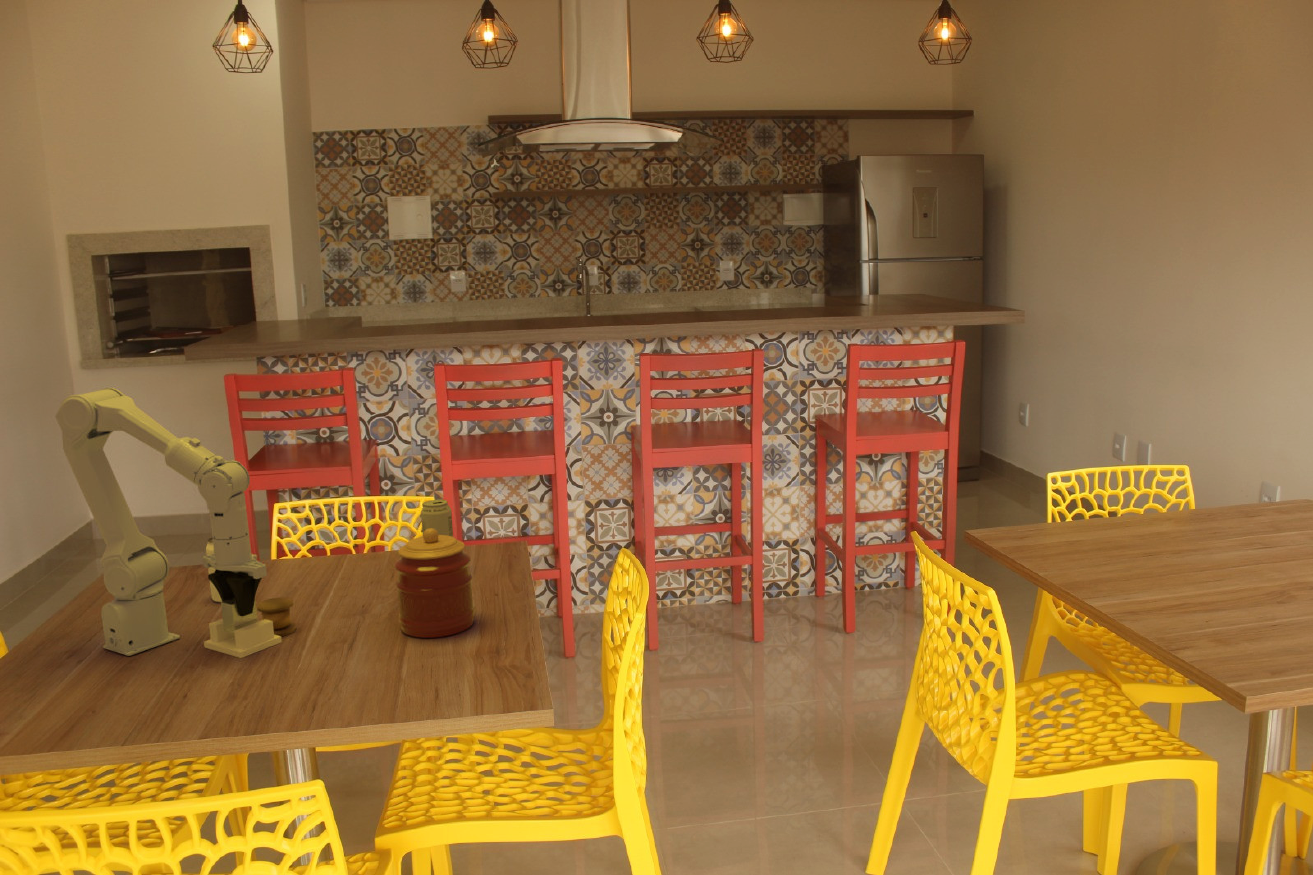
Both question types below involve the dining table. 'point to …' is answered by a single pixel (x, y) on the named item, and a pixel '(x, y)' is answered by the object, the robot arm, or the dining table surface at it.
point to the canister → (434, 586)
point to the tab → (236, 616)
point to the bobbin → (278, 615)
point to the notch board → (242, 638)
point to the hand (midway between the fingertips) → (239, 612)
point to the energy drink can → (437, 517)
